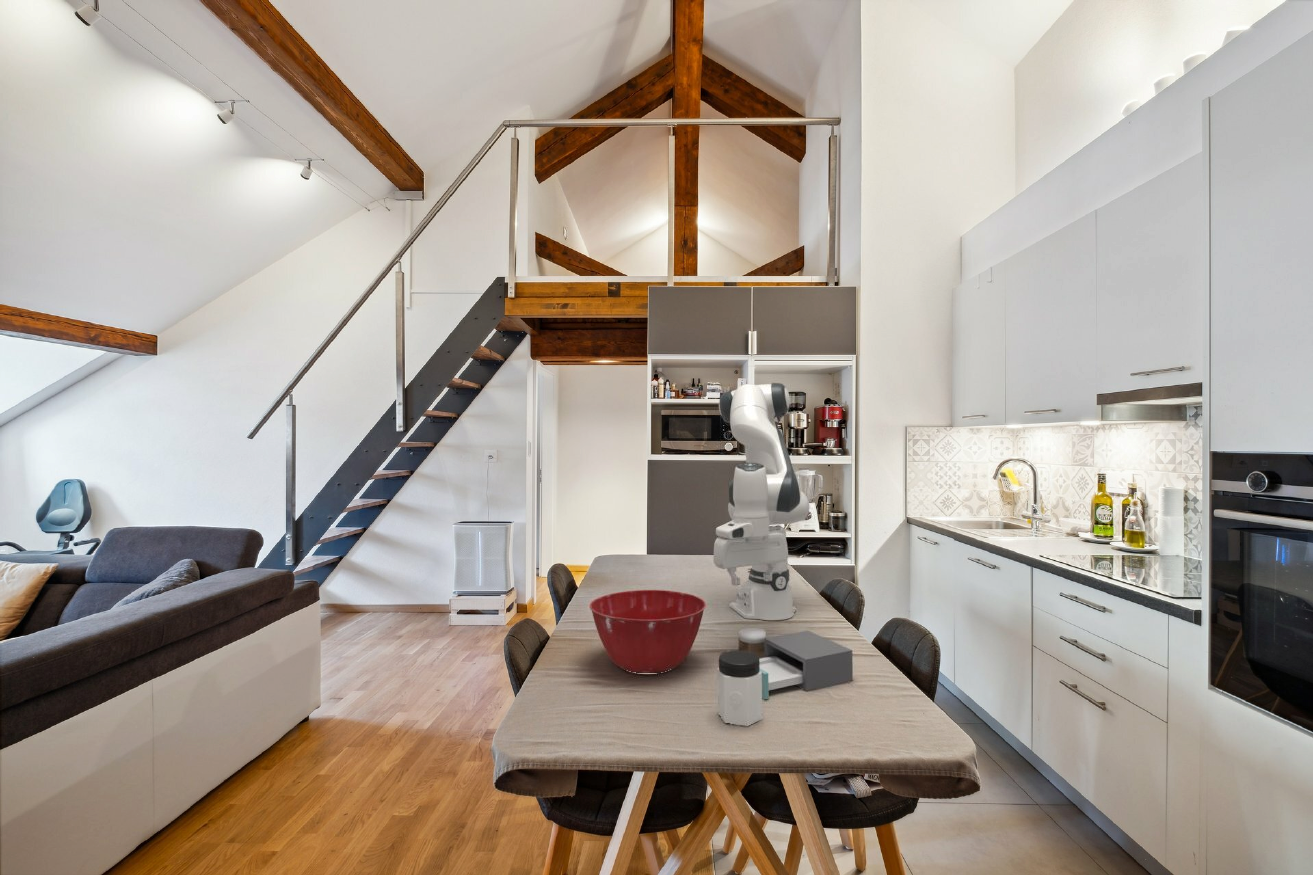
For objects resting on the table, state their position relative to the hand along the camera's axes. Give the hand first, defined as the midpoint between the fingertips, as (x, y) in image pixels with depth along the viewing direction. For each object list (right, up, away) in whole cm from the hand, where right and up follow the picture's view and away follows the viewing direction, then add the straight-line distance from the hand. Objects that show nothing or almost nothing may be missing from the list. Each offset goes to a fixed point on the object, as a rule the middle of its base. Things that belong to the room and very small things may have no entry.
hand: (752, 582), depth 157 cm
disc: (0, -14, 0) cm, 14 cm away
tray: (+2, -19, -15) cm, 24 cm away
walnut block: (0, -19, 0) cm, 19 cm away
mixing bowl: (-26, -20, -3) cm, 33 cm away
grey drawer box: (+11, -19, -10) cm, 24 cm away
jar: (-7, -20, -32) cm, 38 cm away
